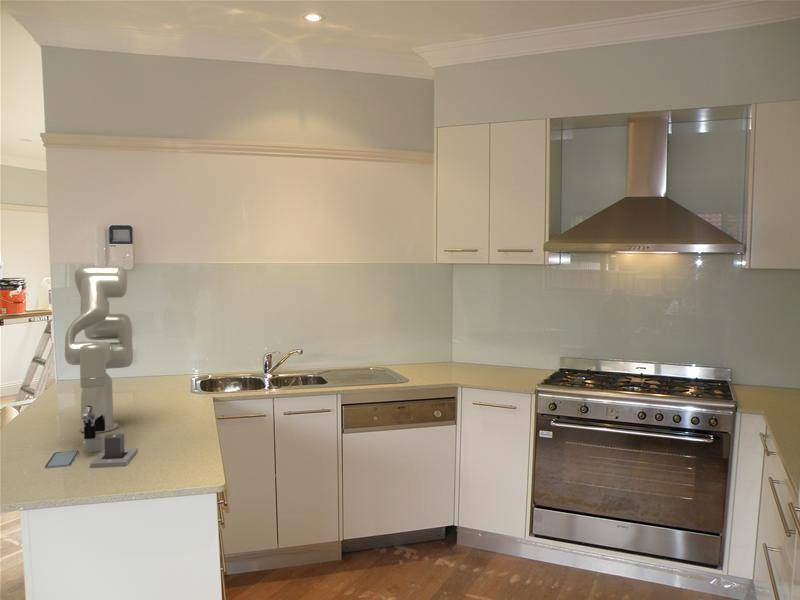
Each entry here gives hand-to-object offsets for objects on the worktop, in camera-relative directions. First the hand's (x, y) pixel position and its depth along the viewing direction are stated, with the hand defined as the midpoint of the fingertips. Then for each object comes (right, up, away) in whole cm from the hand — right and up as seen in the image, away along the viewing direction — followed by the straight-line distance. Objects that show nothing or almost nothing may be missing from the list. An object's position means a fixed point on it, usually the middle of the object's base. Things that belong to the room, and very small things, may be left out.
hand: (95, 434), depth 201 cm
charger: (+10, -6, -8) cm, 14 cm away
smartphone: (-6, -6, -9) cm, 12 cm away
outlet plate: (+10, -6, -8) cm, 15 cm away
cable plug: (0, -5, +1) cm, 5 cm away
